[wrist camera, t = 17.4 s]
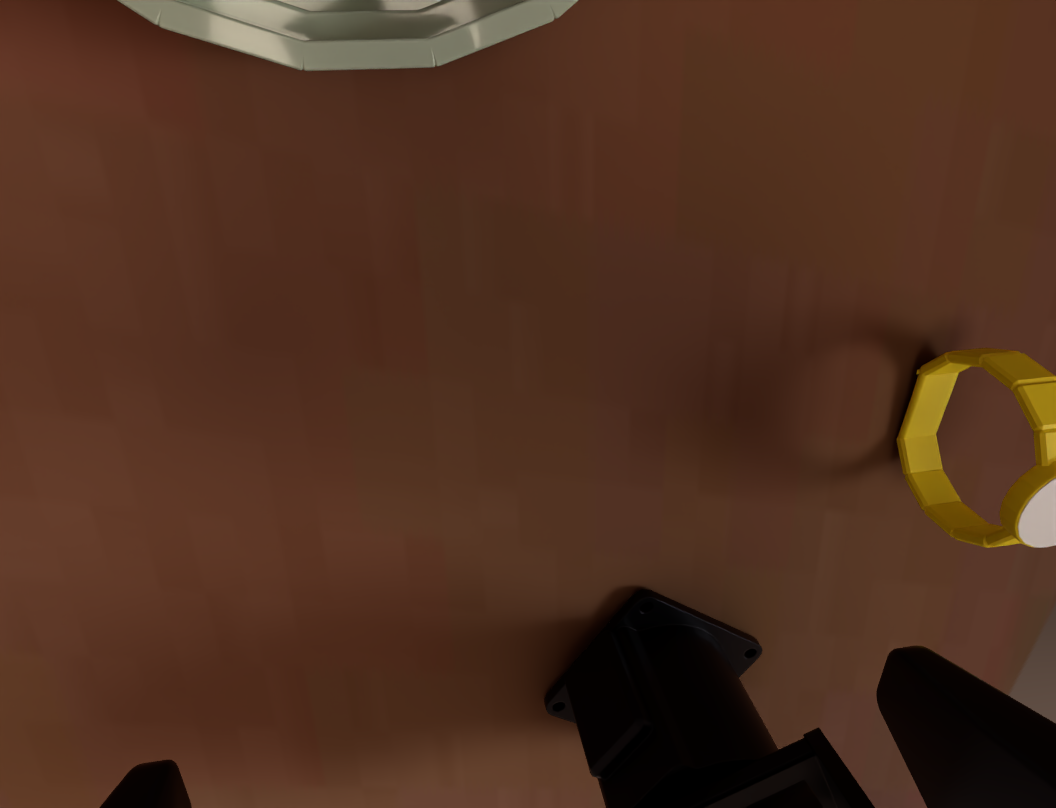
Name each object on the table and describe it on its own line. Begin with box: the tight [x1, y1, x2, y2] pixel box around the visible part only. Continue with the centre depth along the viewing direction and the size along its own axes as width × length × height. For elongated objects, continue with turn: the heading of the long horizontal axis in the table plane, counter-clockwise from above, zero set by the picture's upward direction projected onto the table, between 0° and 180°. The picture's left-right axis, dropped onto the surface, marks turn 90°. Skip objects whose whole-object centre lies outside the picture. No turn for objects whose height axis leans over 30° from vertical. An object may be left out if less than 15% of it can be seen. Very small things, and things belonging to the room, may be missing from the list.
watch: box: [897, 348, 1056, 548], centre depth 22 cm, size 6×3×6 cm, turn 1°
